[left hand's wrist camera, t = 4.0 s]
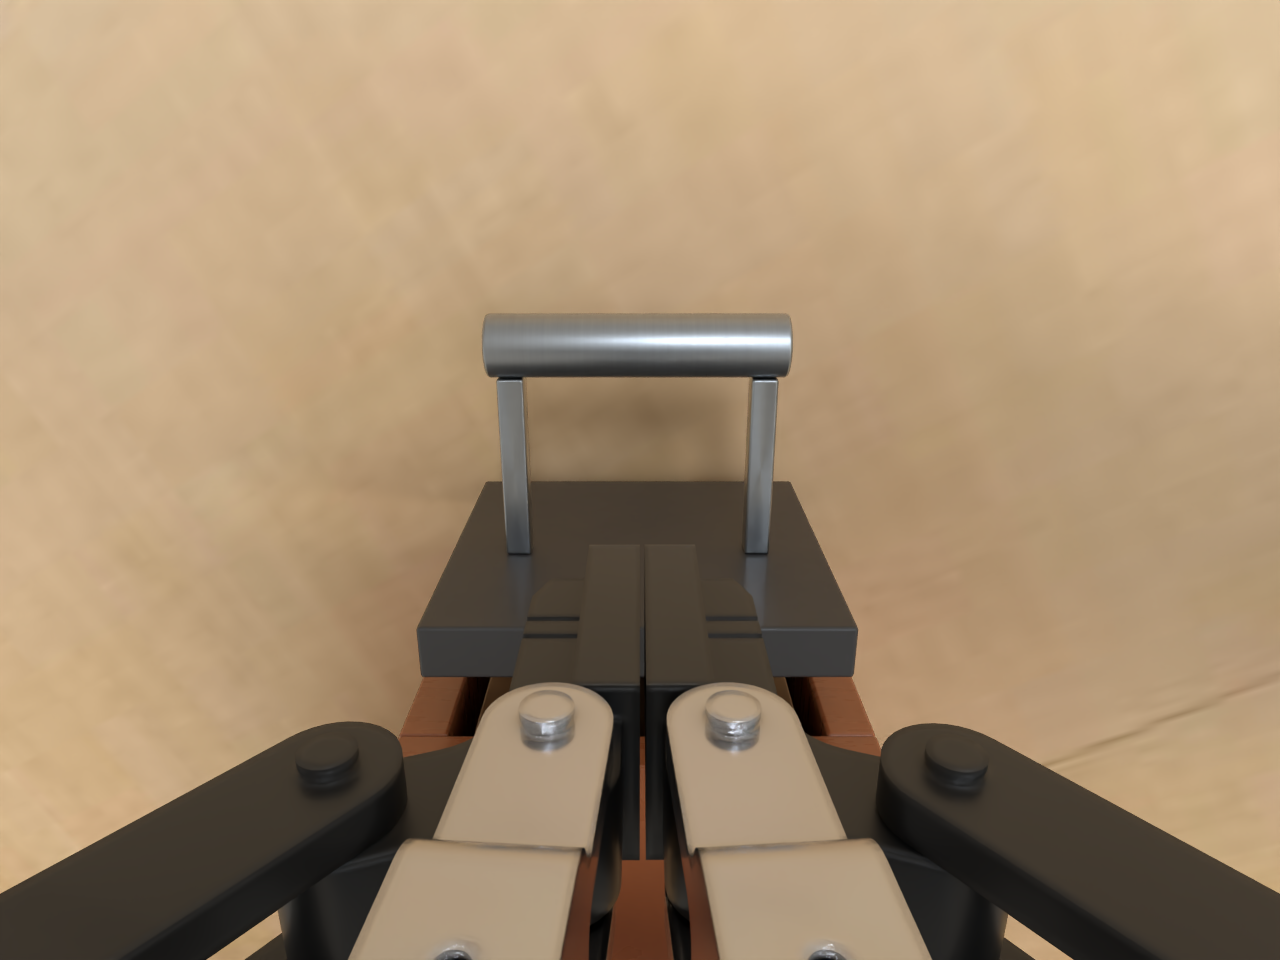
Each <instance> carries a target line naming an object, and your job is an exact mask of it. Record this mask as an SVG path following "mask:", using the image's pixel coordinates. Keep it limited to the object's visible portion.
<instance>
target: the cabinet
mask: <svg viewBox="0 0 1280 960" xmlns="http://www.w3.org/2000/svg"><path fill="white" fill-rule="evenodd" d="M785 678H786V682H787V685H788V689H789V693H790V696H791V700H792V703H793V707H794V711H795V712H796V714H797V716H798V718H799V721H800V723H801V726H802V728H803V731H804V732H805V733H806V734H808V735H810V736H811V737H813V738H816V739H818V740H820V741H822V742H824V743H827V744H830V745H833V746H836V747H840V748H843V749H847V750H852V751H857V752H861V753H866V754H870V755H875V756H881V748H880V746H879V743H878V741H877V738H876V737H875V734H874V731H873V729H872V726H871V724H870V722H869V719H868V717H867V714H866V712H865V709H864V707H863V704H862V702H861V699H860V697H859V694H858V692H857V690H856V687H855V685H854V682H853V680H852V677H785ZM489 680H490V677H423V680H422V682H421V685H420V687H419V689H418V692H417V694H416V697H415V699H414V701H413V704H412V706H411V709H410V711H409V713H408V716H407V718H406V721H405V723H404V725H403V728H402V730H401V733H400V735H399V736H400V737H399V738H398V740H399V742H400V744H401V747H402V752H403V757H408V756H413V755H417V754H422V753H427V752H431V751H436V750H440V749H444V748H448V747H452V746H454V745H457V744H460V743H463V742H465V741H467V740H469V739H471V738H473V737H474V735H475V729H476V726H477V722H478V719H479V715H480V712H481V708H482V705H483V701H484V698H485V694H486V691H487V687H488V684H489ZM664 894H665V880H664V860H646V832H645V736H640V860H622V882H621V890H620V893H619V896H618V899H617V901H616V926H615V934H614V942H613V950H612V958H611V960H669V958H668V950H667V942H666V934H665V926H664Z"/></svg>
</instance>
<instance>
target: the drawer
mask: <svg viewBox="0 0 1280 960" xmlns="http://www.w3.org/2000/svg"><path fill="white" fill-rule="evenodd" d="M792 352H793V331H792V323H791V319H790V316H789V315H788V314H487V315H486V316H485V319H484V322H483V329H482V354H483V363H484V368H485V371H486V374H487V376H489V377H499V378H498V379H497V381H496V383H497V399H498V416H499V433H500V450H501V467H502V482H486V483H485V486H484V488H483V490H482V492H481V494H480V496H479V498H478V500H477V502H476V505H475V507H474V509H473V511H472V513H471V515H470V517H469V519H468V521H467V524H466V526H465V528H464V530H463V532H462V534H461V536H460V538H459V540H458V543H457V545H456V547H455V549H454V551H453V553H452V555H451V557H450V559H449V562H448V564H447V566H446V568H445V570H444V572H443V574H442V576H441V578H440V581H439V583H438V585H437V587H436V589H435V591H434V593H433V595H432V597H431V600H430V602H429V604H428V606H427V608H426V610H425V612H424V614H423V616H422V619H421V621H420V623H419V625H418V627H417V640H418V649H419V659H420V669H421V675H422V676H423V677H490V680H489V684H488V687H487V691H486V694H485V698H484V701H483V705H482V708H481V712H480V715H479V719H478V722H477V726H476V729H475V733H476V731H477V728H478V726H479V723H480V721H481V718H482V716H483V714H484V712H485V711H486V709H487V708H488V707H489V706H490V705H491V704H492V703H493V702H494V701H495V700H496V699H498V698H499V697H501V696H502V695H504V694H506V693H508V692H509V689H510V685H511V681H512V677H513V673H514V669H515V665H516V661H517V657H518V652H519V648H520V644H521V640H522V638H523V632H524V628H525V624H526V621H527V616H528V612H529V608H530V603H531V599H532V596H533V595H534V594H535V593H536V592H537V591H538V590H540V589H541V588H542V587H543V586H544V585H545V584H546V583H547V582H548V581H549V580H550V579H552V578H585V573H586V566H587V558H588V550H589V545H640V736H645V710H644V545H695V547H696V554H697V561H698V568H699V575H700V578H733V579H734V580H735V581H736V582H737V583H739V584H740V585H741V586H742V587H743V588H744V589H745V590H746V591H747V592H748V593H750V594H751V595H752V597H753V601H754V604H755V608H756V612H757V616H758V621H759V624H760V628H761V632H762V638H763V640H764V644H765V648H766V651H767V655H768V659H769V663H770V667H771V671H772V675H773V679H774V683H775V687H776V691H777V695H778V696H779V697H781V698H782V699H784V700H785V701H786V702H787V703H788V704H789V705H790V706H791V707H792V708H793V709H794V707H793V703H792V700H791V696H790V693H789V689H788V685H787V682H786V678H785V677H852V676H853V674H854V666H855V656H856V646H857V636H858V628H857V626H856V623H855V621H854V619H853V617H852V615H851V613H850V610H849V608H848V606H847V604H846V602H845V600H844V597H843V595H842V593H841V591H840V589H839V587H838V584H837V582H836V580H835V578H834V576H833V574H832V571H831V569H830V567H829V565H828V563H827V561H826V558H825V556H824V554H823V552H822V550H821V548H820V545H819V543H818V541H817V539H816V537H815V535H814V532H813V530H812V528H811V526H810V524H809V522H808V519H807V517H806V515H805V513H804V511H803V509H802V507H801V504H800V502H799V500H798V498H797V496H796V494H795V491H794V489H793V487H792V485H791V483H790V482H773V470H774V453H775V435H776V417H777V400H778V379H777V378H776V377H786V376H787V375H788V374H789V371H790V367H791V362H792ZM526 377H749V393H748V416H747V438H746V460H745V482H531V473H530V452H529V431H528V409H527V388H526Z"/></svg>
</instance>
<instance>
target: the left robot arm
mask: <svg viewBox="0 0 1280 960" xmlns="http://www.w3.org/2000/svg"><path fill="white" fill-rule="evenodd" d="M644 710H645V832H646V860H664V880H665V894H664V926H665V934H666V942H667V950H668V958H669V960H1035V959H1034V958H1032V957H1031V956H1029V955H1028V954H1027V953H1025V952H1024V951H1022V950H1021V949H1020V948H1018V947H1017V946H1015V945H1014V944H1013V943H1011V942H1010V941H1008V940H1007V939H1006V938H1004V933H1005V928H1006V923H1007V918H1008V914H1009V915H1010V916H1012V917H1013V918H1014V919H1016V920H1017V921H1019V922H1020V923H1022V924H1023V925H1025V926H1026V927H1027V928H1029V929H1030V930H1032V931H1033V932H1035V933H1036V934H1038V935H1039V936H1040V937H1042V938H1043V939H1045V940H1046V941H1048V942H1049V943H1051V944H1052V945H1053V946H1055V947H1056V948H1058V949H1059V950H1061V951H1062V952H1063V953H1065V954H1066V955H1068V956H1069V957H1071V958H1072V959H1074V960H1280V894H1279V893H1277V892H1275V891H1274V890H1272V889H1270V888H1268V887H1266V886H1264V885H1263V884H1261V883H1259V882H1257V881H1255V880H1253V879H1251V878H1250V877H1248V876H1246V875H1244V874H1242V873H1240V872H1238V871H1237V870H1235V869H1233V868H1231V867H1229V866H1227V865H1226V864H1224V863H1222V862H1220V861H1218V860H1216V859H1214V858H1213V857H1211V856H1209V855H1207V854H1205V853H1203V852H1201V851H1200V850H1198V849H1196V848H1194V847H1192V846H1190V845H1189V844H1187V843H1185V842H1183V841H1181V840H1179V839H1177V838H1176V837H1174V836H1172V835H1170V834H1168V833H1166V832H1164V831H1163V830H1161V829H1159V828H1157V827H1155V826H1153V825H1152V824H1150V823H1148V822H1146V821H1144V820H1142V819H1140V818H1139V817H1137V816H1135V815H1133V814H1131V813H1129V812H1128V811H1126V810H1124V809H1122V808H1120V807H1118V806H1116V805H1115V804H1113V803H1111V802H1109V801H1107V800H1105V799H1103V798H1102V797H1100V796H1098V795H1096V794H1094V793H1092V792H1091V791H1089V790H1087V789H1085V788H1083V787H1081V786H1079V785H1078V784H1076V783H1074V782H1072V781H1070V780H1068V779H1066V778H1065V777H1063V776H1061V775H1059V774H1057V773H1055V772H1054V771H1052V770H1050V769H1048V768H1046V767H1044V766H1042V765H1041V764H1039V763H1037V762H1035V761H1033V760H1031V759H1029V758H1028V757H1026V756H1024V755H1022V754H1020V753H1018V752H1017V751H1015V750H1013V749H1011V748H1009V747H1007V746H1005V745H1004V744H1002V743H1000V742H998V741H996V740H994V739H992V738H990V737H988V736H986V735H984V734H981V733H979V732H976V731H973V730H970V729H967V728H963V727H959V726H954V725H948V724H936V723H931V724H918V725H912V726H909V727H905V728H902V729H900V730H898V731H896V732H894V733H893V734H892V735H891V736H889V737H888V738H887V740H886V741H885V742H884V744H883V747H882V749H881V756H875V755H870V754H866V753H861V752H857V751H852V750H847V749H843V748H840V747H836V746H833V745H830V744H827V743H824V742H822V741H820V740H818V739H816V738H813V737H811V736H810V735H808V734H806V733H805V732H804V731H803V728H802V726H801V723H800V721H799V718H798V716H797V714H796V712H795V711H794V709H793V708H792V707H791V706H790V705H789V704H788V703H787V702H786V701H785V700H784V699H782V698H781V697H779V696H778V695H777V691H776V687H775V683H774V679H773V675H772V671H771V667H770V663H769V659H768V655H767V651H766V648H765V644H764V640H763V638H762V632H761V628H760V624H759V621H758V616H757V612H756V608H755V604H754V601H753V597H752V595H751V594H750V593H748V592H747V591H746V590H745V589H744V588H743V587H742V586H741V585H740V584H739V583H737V582H736V581H735V580H734V579H733V578H700V575H699V568H698V561H697V554H696V547H695V545H644ZM622 860H640V545H589V550H588V558H587V566H586V573H585V578H552V579H550V580H549V581H548V582H547V583H546V584H545V585H544V586H543V587H542V588H541V589H540V590H538V591H537V592H536V593H535V594H534V595H533V596H532V599H531V603H530V608H529V612H528V616H527V621H526V624H525V628H524V632H523V638H522V640H521V644H520V648H519V652H518V657H517V661H516V665H515V669H514V673H513V677H512V681H511V685H510V689H509V692H508V693H506V694H504V695H502V696H501V697H499V698H498V699H496V700H495V701H494V702H493V703H492V704H491V705H490V706H489V707H488V708H487V709H486V711H485V712H484V714H483V716H482V718H481V721H480V723H479V726H478V728H477V731H476V733H475V735H474V737H473V738H471V739H469V740H467V741H465V742H463V743H460V744H457V745H454V746H452V747H448V748H444V749H440V750H436V751H431V752H427V753H422V754H417V755H413V756H408V757H403V752H402V747H401V744H400V742H399V740H398V739H397V738H396V736H395V735H394V734H392V733H391V732H390V731H388V730H387V729H384V728H382V727H380V726H377V725H374V724H370V723H364V722H337V723H331V724H325V725H321V726H317V727H314V728H311V729H308V730H305V731H302V732H300V733H298V734H296V735H294V736H291V737H289V738H288V739H286V740H284V741H282V742H280V743H278V744H276V745H275V746H273V747H271V748H269V749H267V750H265V751H263V752H262V753H260V754H258V755H256V756H254V757H252V758H251V759H249V760H247V761H245V762H243V763H241V764H239V765H238V766H236V767H234V768H232V769H230V770H228V771H227V772H225V773H223V774H221V775H219V776H217V777H215V778H214V779H212V780H210V781H208V782H206V783H204V784H202V785H201V786H199V787H197V788H195V789H193V790H191V791H190V792H188V793H186V794H184V795H182V796H180V797H178V798H177V799H175V800H173V801H171V802H169V803H167V804H165V805H164V806H162V807H160V808H158V809H156V810H154V811H153V812H151V813H149V814H147V815H145V816H143V817H141V818H140V819H138V820H136V821H134V822H132V823H130V824H128V825H127V826H125V827H123V828H121V829H119V830H117V831H116V832H114V833H112V834H110V835H108V836H106V837H104V838H103V839H101V840H99V841H97V842H95V843H93V844H91V845H90V846H88V847H86V848H84V849H82V850H80V851H79V852H77V853H75V854H73V855H71V856H69V857H67V858H66V859H64V860H62V861H60V862H58V863H56V864H55V865H53V866H51V867H49V868H47V869H45V870H43V871H42V872H40V873H38V874H36V875H34V876H32V877H30V878H29V879H27V880H25V881H23V882H21V883H19V884H18V885H16V886H14V887H12V888H10V889H8V890H6V891H5V892H3V893H1V894H0V960H206V959H208V958H209V957H211V956H212V955H214V954H215V953H217V952H218V951H219V950H221V949H222V948H224V947H225V946H227V945H228V944H230V943H231V942H232V941H234V940H235V939H237V938H238V937H240V936H241V935H242V934H244V933H245V932H247V931H248V930H250V929H251V928H253V927H254V926H255V925H257V924H258V923H260V922H261V921H263V920H264V919H266V918H267V917H268V916H270V915H271V914H273V913H274V912H276V911H277V910H278V914H279V919H280V925H281V930H282V933H281V934H280V935H279V936H277V937H276V938H274V939H273V940H272V941H270V942H269V943H267V944H266V945H265V946H263V947H262V948H260V949H259V950H258V951H256V952H255V953H253V954H252V955H251V956H249V957H248V958H247V959H245V960H611V958H612V950H613V942H614V934H615V926H616V901H617V899H618V896H619V893H620V890H621V882H622Z"/></svg>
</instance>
